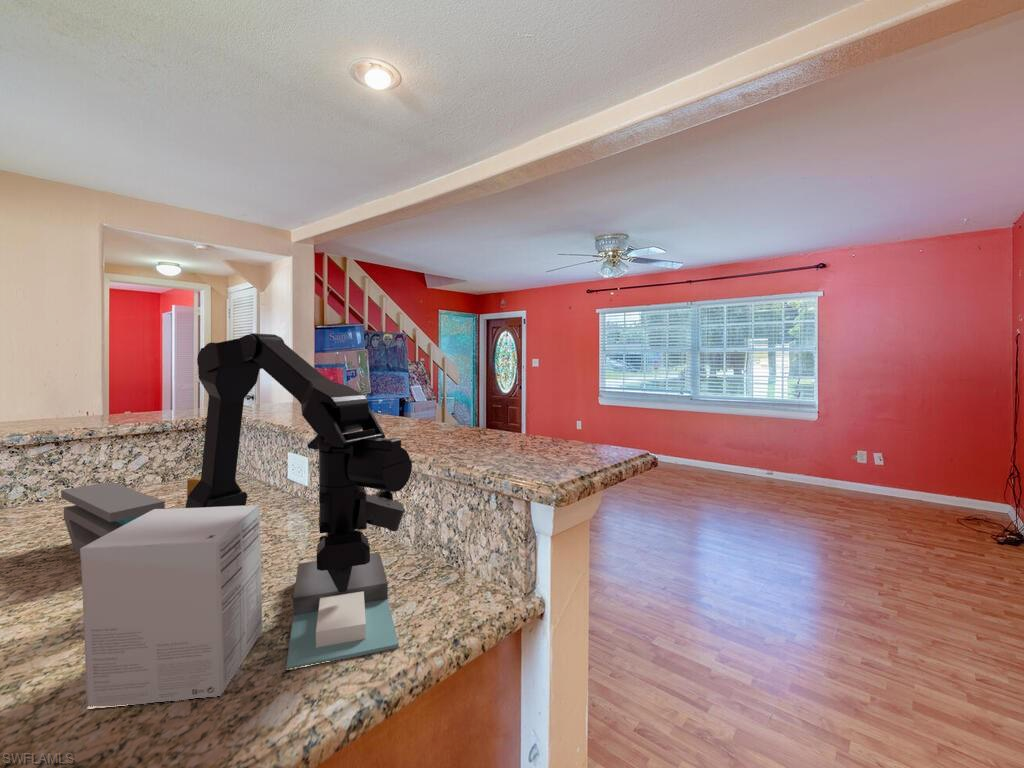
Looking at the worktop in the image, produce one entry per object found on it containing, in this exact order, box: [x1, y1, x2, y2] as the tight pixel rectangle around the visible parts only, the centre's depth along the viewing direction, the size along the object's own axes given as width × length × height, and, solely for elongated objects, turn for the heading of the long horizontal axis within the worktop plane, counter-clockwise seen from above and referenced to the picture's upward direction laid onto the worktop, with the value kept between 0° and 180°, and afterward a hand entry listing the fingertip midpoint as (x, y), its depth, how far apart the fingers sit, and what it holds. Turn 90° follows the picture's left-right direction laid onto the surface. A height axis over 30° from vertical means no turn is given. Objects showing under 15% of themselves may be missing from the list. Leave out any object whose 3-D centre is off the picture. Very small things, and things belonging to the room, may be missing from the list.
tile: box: [316, 591, 366, 648], centre depth 64 cm, size 6×9×2 cm, turn 19°
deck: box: [292, 551, 389, 615], centre depth 74 cm, size 13×12×3 cm
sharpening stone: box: [60, 480, 166, 556], centre depth 88 cm, size 25×8×11 cm, turn 58°
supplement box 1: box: [79, 504, 263, 707], centre depth 56 cm, size 13×13×18 cm
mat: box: [285, 598, 400, 670], centre depth 63 cm, size 13×12×1 cm
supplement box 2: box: [186, 475, 201, 498], centre depth 105 cm, size 3×3×10 cm
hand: (342, 590), depth 66 cm, fingers closed
